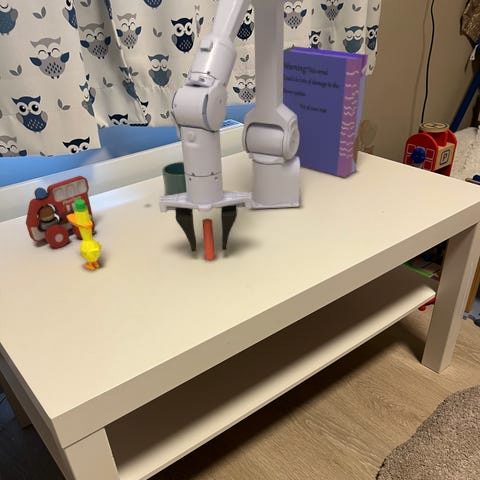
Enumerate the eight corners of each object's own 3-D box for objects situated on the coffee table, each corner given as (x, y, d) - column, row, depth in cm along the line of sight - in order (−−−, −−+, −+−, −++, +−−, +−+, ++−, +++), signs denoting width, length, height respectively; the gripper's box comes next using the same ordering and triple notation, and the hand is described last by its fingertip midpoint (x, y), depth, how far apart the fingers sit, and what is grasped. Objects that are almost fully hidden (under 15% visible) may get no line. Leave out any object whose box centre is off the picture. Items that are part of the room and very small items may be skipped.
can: (201, 188, 113) (199, 161, 109) (200, 202, 107) (198, 174, 104) (167, 189, 113) (164, 162, 109) (164, 204, 107) (160, 176, 104)
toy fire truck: (26, 241, 96) (9, 187, 90) (87, 220, 103) (75, 168, 96) (41, 255, 92) (24, 199, 86) (104, 232, 98) (93, 179, 92)
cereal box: (355, 171, 118) (368, 53, 103) (344, 178, 115) (355, 58, 100) (292, 155, 127) (296, 45, 112) (281, 161, 124) (282, 49, 110)
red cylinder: (214, 255, 90) (212, 218, 86) (214, 260, 89) (211, 222, 85) (205, 255, 90) (202, 218, 86) (205, 260, 89) (202, 222, 85)
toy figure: (71, 263, 89) (54, 198, 82) (88, 255, 91) (73, 190, 84) (95, 277, 86) (79, 209, 78) (112, 268, 88) (98, 201, 81)
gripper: (153, 182, 77) (164, 262, 85) (251, 177, 77) (253, 258, 85) (157, 164, 82) (167, 241, 91) (249, 160, 82) (251, 237, 91)
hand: (209, 248), depth 88 cm, fingers open, 4 cm apart
